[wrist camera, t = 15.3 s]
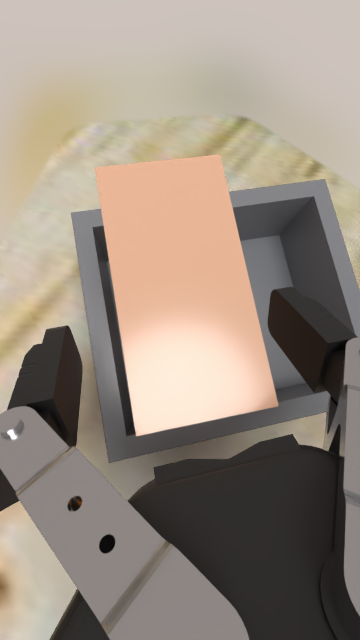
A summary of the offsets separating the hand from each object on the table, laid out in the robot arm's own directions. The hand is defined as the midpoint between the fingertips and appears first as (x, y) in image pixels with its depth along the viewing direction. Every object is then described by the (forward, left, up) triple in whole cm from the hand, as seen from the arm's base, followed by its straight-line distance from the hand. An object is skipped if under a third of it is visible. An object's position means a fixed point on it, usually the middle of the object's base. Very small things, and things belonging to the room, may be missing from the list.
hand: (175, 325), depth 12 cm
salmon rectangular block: (0, -1, -9) cm, 9 cm away
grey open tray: (-3, -1, -10) cm, 10 cm away
